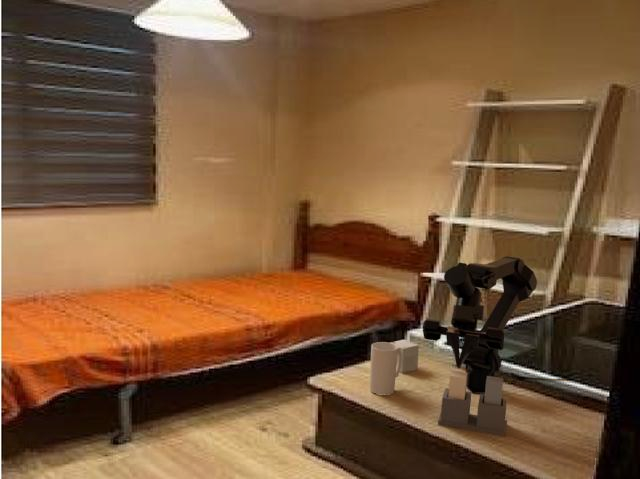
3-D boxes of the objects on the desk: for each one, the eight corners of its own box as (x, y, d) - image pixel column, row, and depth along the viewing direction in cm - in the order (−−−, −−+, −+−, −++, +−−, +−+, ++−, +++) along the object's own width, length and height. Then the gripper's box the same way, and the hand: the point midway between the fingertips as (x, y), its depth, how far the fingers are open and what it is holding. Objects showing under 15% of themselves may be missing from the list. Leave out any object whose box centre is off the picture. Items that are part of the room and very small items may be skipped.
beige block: (449, 398, 146) (451, 370, 145) (465, 401, 145) (467, 372, 144) (447, 404, 143) (449, 375, 142) (463, 407, 142) (466, 378, 141)
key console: (441, 413, 149) (443, 387, 148) (506, 424, 144) (509, 397, 143) (437, 424, 143) (440, 397, 142) (505, 436, 138) (508, 408, 137)
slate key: (484, 404, 144) (487, 375, 143) (500, 407, 143) (503, 378, 142) (483, 410, 141) (486, 381, 139) (499, 413, 139) (502, 383, 138)
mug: (381, 398, 156) (384, 352, 154) (363, 389, 161) (365, 345, 159) (409, 389, 162) (412, 345, 160) (390, 381, 167) (393, 338, 165)
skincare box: (418, 369, 177) (419, 345, 175) (401, 373, 173) (403, 348, 172) (403, 363, 182) (405, 338, 180) (387, 366, 178) (389, 342, 177)
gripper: (426, 286, 148) (415, 344, 140) (508, 295, 142) (501, 356, 134) (429, 310, 157) (418, 366, 148) (506, 320, 151) (500, 379, 142)
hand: (458, 366), depth 143 cm, fingers closed
